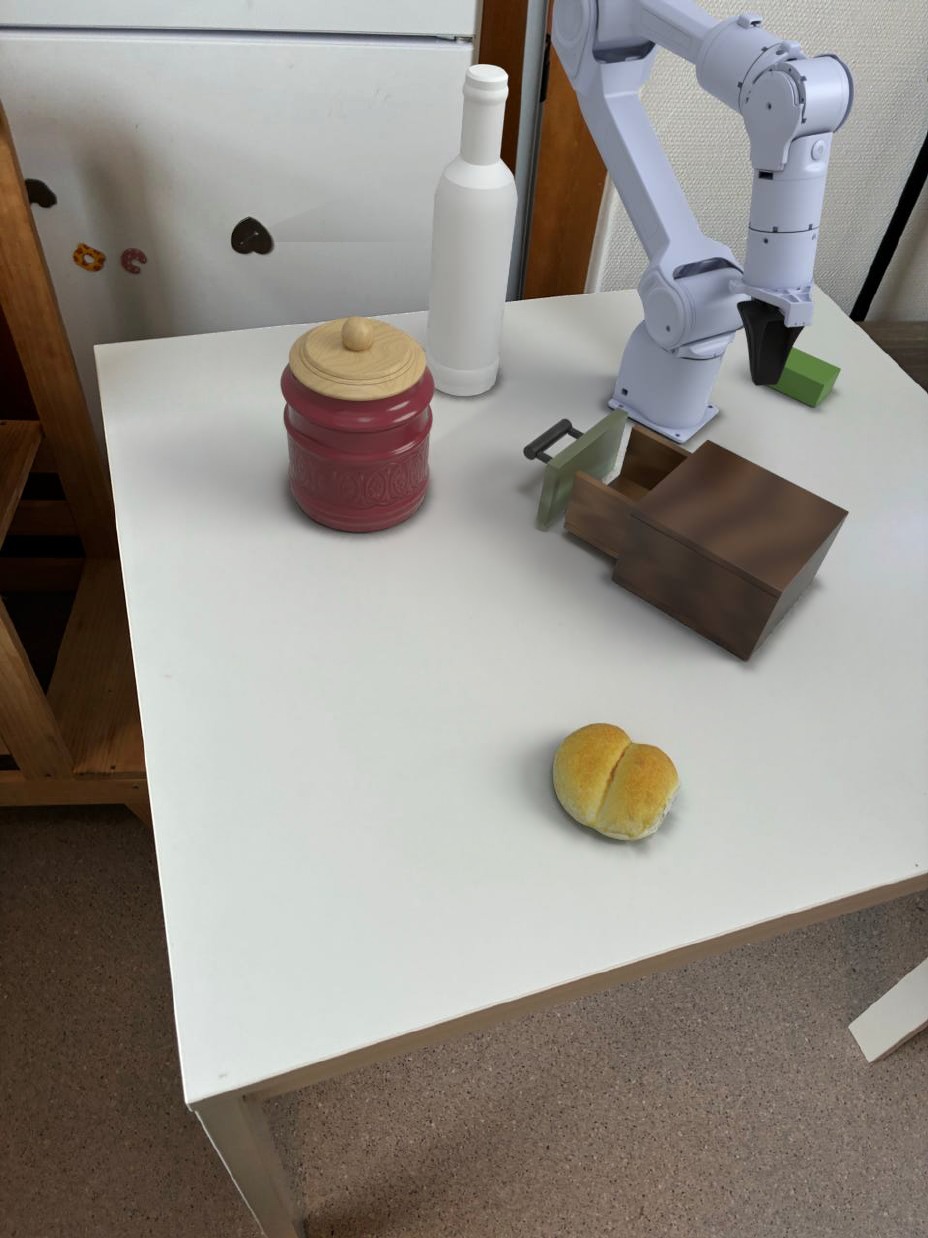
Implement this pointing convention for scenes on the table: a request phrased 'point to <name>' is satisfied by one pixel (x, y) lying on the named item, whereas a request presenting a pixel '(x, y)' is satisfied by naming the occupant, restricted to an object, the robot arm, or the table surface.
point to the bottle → (472, 244)
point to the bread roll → (614, 782)
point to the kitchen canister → (358, 423)
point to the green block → (807, 378)
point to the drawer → (600, 477)
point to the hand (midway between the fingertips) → (764, 382)
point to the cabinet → (726, 546)
